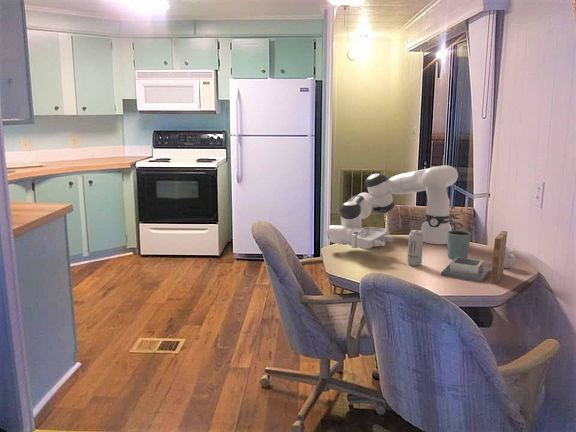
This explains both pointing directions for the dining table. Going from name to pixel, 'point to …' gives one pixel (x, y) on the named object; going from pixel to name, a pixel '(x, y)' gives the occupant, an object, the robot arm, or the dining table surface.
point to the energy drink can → (415, 248)
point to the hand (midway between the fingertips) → (388, 241)
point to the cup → (509, 257)
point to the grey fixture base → (466, 269)
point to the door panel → (498, 257)
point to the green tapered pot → (458, 244)
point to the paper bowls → (375, 230)
